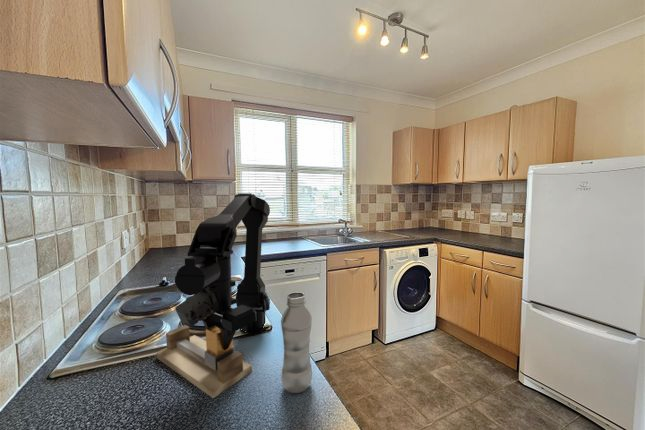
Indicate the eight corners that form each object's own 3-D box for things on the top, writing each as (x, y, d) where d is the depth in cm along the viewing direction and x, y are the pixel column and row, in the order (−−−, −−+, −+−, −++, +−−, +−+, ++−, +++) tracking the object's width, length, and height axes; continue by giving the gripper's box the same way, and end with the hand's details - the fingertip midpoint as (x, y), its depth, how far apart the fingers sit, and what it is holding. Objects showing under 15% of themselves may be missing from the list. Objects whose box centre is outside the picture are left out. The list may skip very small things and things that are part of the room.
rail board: (194, 340, 75) (194, 321, 75) (251, 371, 61) (251, 348, 61) (156, 358, 67) (155, 337, 66) (213, 398, 53) (212, 372, 53)
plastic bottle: (275, 386, 56) (273, 295, 55) (299, 372, 61) (298, 287, 60) (294, 403, 52) (292, 304, 50) (319, 386, 56) (318, 295, 55)
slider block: (224, 353, 63) (223, 320, 62) (235, 359, 61) (234, 325, 60) (205, 364, 59) (203, 329, 58) (215, 371, 57) (214, 335, 56)
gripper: (158, 280, 57) (161, 349, 58) (208, 299, 46) (211, 383, 48) (206, 268, 66) (208, 328, 67) (257, 282, 56) (258, 353, 57)
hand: (219, 346), depth 59 cm, fingers closed on slider block, 4 cm apart
